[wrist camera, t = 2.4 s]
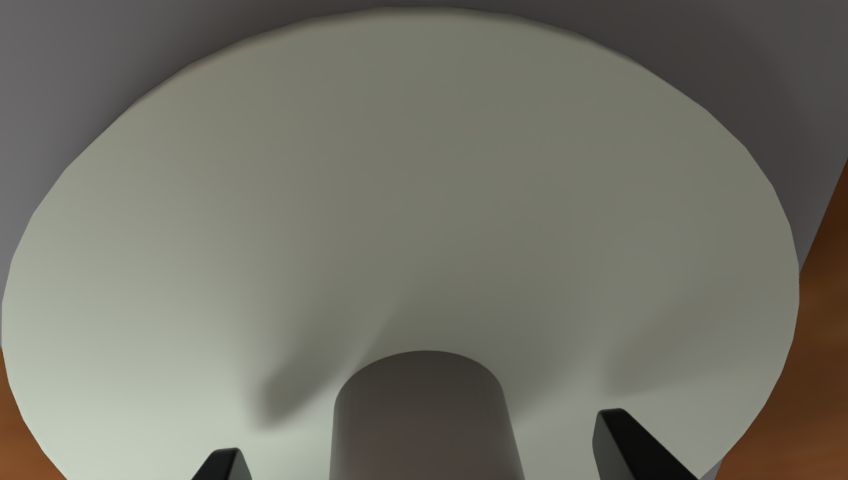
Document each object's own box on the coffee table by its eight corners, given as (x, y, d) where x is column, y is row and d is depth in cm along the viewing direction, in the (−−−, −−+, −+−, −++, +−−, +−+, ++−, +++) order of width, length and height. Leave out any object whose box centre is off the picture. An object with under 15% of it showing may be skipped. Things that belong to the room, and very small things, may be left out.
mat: (684, 503, 15) (695, 524, 15) (170, 559, 15) (163, 584, 14) (907, -85, 7) (947, -82, 7) (-190, -3, 7) (-233, 7, 6)
